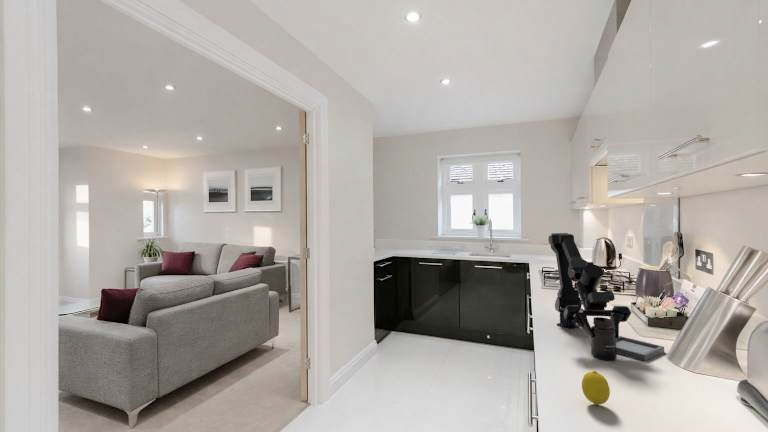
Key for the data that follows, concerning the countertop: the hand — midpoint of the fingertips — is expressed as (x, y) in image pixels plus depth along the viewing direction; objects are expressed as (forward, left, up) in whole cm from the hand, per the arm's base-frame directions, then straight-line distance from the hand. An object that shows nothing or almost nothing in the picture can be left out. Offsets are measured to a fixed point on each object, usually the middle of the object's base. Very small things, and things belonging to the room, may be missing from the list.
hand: (605, 337), depth 104 cm
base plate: (-14, +1, -7) cm, 15 cm away
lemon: (+30, +13, -7) cm, 33 cm away
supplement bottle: (-1, -1, -7) cm, 7 cm away
